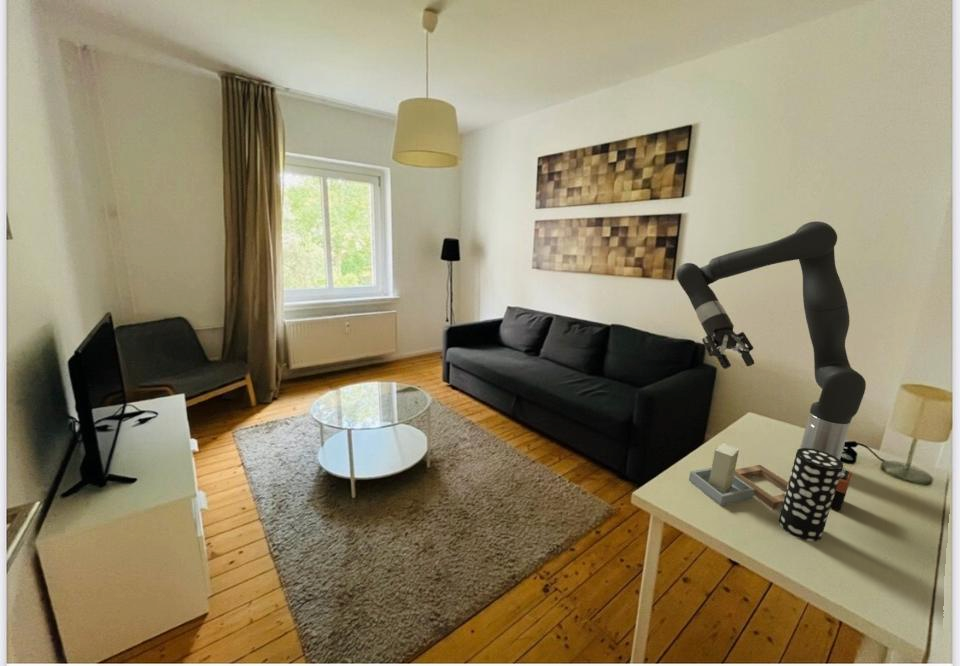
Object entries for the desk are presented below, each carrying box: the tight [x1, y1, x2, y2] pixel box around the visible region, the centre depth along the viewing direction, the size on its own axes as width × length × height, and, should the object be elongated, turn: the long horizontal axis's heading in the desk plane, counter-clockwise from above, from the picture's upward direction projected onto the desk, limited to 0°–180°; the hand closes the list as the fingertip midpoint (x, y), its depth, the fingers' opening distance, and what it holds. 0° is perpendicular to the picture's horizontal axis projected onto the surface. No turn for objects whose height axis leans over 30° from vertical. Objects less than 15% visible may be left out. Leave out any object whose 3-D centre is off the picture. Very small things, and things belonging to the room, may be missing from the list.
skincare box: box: [709, 442, 740, 494], centre depth 108 cm, size 6×4×12 cm
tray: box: [688, 467, 755, 507], centre depth 109 cm, size 11×11×3 cm
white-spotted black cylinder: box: [778, 447, 844, 542], centre depth 93 cm, size 8×8×20 cm
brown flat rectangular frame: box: [734, 464, 789, 510], centre depth 110 cm, size 12×14×2 cm
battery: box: [830, 467, 853, 512], centre depth 103 cm, size 4×7×10 cm, turn 132°
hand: (739, 366), depth 112 cm, fingers open, 8 cm apart
